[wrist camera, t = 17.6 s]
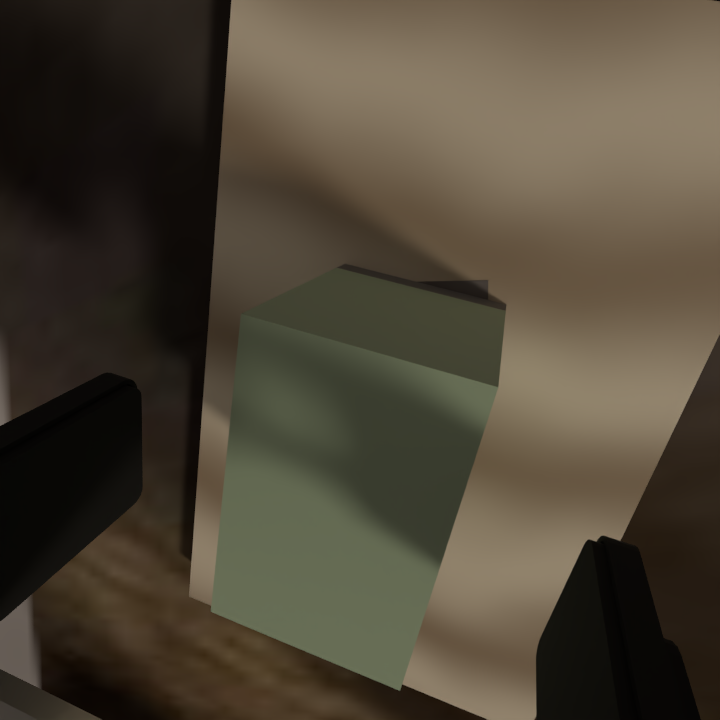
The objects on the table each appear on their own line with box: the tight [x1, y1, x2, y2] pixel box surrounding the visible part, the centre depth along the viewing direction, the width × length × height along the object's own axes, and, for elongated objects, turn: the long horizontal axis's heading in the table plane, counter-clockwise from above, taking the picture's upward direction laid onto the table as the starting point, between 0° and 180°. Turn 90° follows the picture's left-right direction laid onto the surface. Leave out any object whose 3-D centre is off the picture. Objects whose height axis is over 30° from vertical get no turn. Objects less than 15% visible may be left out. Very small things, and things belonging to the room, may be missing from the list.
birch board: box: [189, 0, 720, 720], centre depth 17 cm, size 24×15×2 cm, turn 170°
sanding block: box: [211, 264, 506, 691], centre depth 14 cm, size 8×5×6 cm, turn 169°
